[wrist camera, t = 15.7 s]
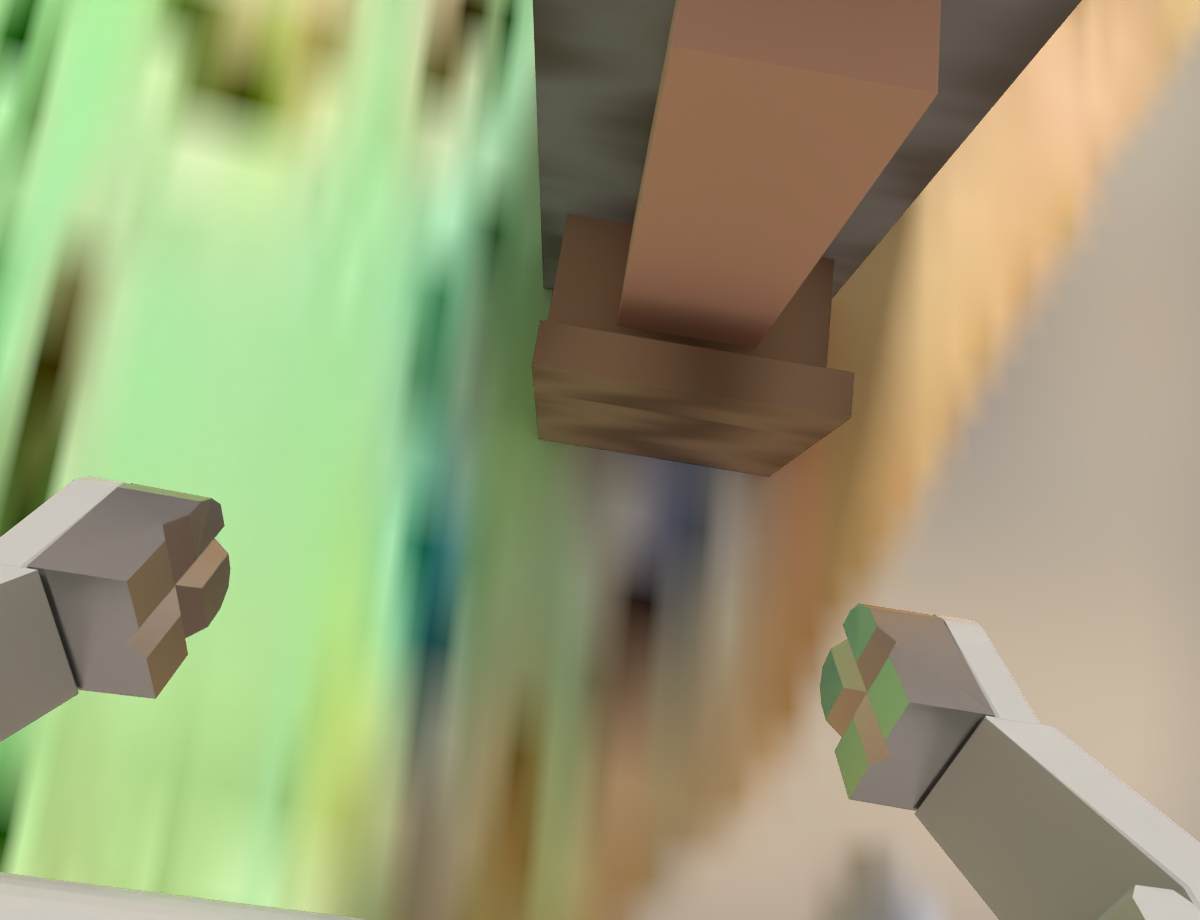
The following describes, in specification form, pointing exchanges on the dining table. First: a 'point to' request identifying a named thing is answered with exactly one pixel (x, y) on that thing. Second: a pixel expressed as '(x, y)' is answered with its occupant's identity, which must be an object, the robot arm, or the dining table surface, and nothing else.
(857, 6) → the salmon brown rectangular block
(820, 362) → the wall board with cleat
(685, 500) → the dining table surface
